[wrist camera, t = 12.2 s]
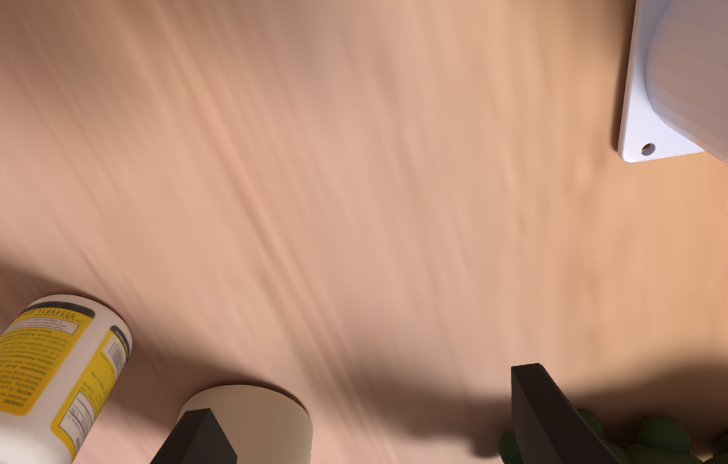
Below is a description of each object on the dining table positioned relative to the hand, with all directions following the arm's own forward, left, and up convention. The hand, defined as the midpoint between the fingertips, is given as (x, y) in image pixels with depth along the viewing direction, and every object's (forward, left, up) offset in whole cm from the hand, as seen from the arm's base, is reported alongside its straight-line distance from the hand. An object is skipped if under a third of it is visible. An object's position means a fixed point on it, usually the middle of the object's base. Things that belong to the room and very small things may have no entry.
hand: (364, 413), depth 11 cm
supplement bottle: (+16, +5, -11) cm, 20 cm away
